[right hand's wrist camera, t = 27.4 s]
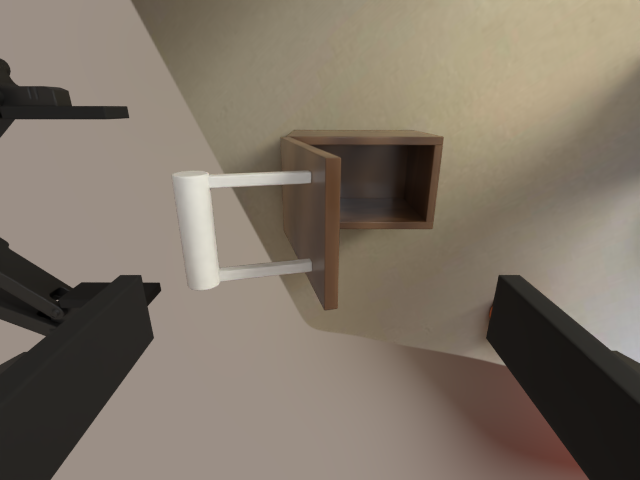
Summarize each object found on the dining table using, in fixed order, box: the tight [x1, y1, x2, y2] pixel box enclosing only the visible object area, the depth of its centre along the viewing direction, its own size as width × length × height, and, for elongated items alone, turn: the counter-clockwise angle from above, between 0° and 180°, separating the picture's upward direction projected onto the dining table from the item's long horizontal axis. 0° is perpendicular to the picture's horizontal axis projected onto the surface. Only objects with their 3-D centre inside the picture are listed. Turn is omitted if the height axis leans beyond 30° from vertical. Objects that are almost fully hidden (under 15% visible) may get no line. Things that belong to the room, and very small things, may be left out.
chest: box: [286, 130, 444, 229], centre depth 39 cm, size 15×9×11 cm, turn 90°
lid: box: [172, 137, 341, 310], centre depth 26 cm, size 15×9×9 cm
